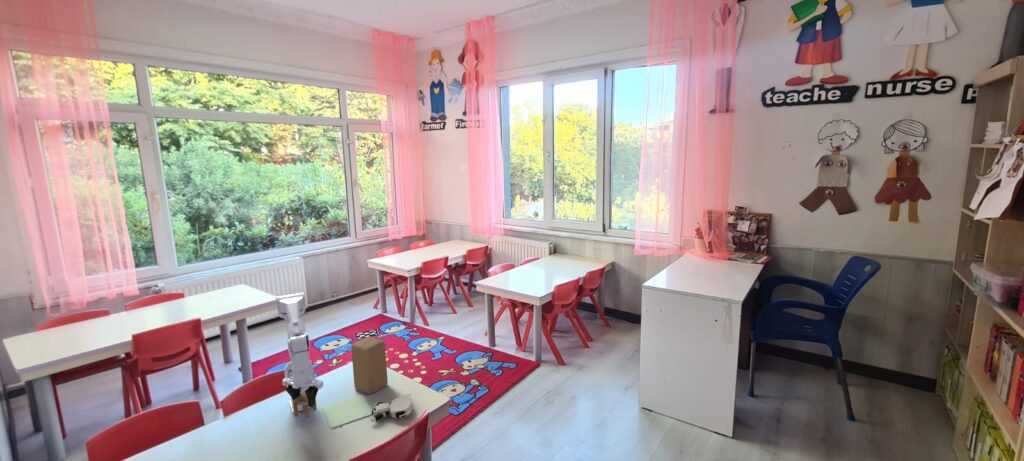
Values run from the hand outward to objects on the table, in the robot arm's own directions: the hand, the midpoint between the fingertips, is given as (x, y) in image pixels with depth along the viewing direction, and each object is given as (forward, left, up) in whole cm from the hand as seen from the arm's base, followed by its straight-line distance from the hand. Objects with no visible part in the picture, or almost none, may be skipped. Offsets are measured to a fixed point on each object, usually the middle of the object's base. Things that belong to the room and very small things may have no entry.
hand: (305, 404), depth 147 cm
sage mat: (-3, +14, -10) cm, 18 cm away
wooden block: (-16, +27, -10) cm, 33 cm away
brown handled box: (0, 0, -3) cm, 3 cm away
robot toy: (+8, +28, -10) cm, 31 cm away
